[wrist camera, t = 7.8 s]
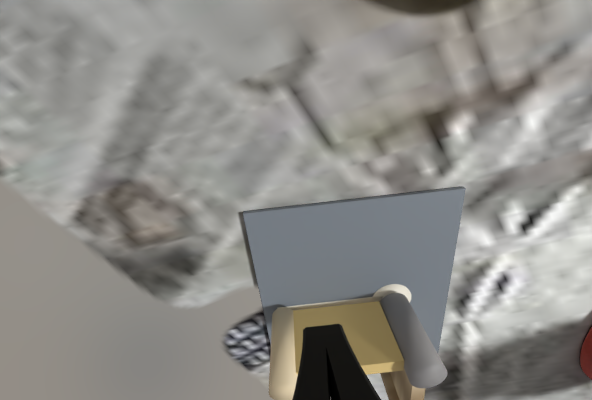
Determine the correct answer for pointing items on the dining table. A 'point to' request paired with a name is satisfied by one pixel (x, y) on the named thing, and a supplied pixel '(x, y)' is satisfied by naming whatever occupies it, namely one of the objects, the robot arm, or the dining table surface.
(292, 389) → the fence panel
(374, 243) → the card
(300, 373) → the robot arm
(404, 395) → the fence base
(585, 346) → the stacking bear
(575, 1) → the dining table surface
